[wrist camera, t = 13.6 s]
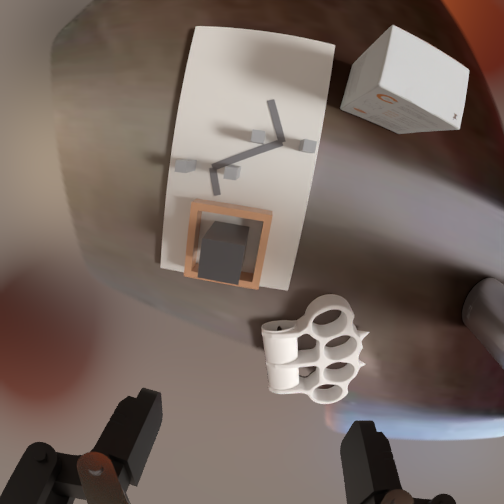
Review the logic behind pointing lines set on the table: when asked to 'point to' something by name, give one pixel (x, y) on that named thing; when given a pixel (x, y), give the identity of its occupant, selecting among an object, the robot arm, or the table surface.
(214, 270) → the dark grey block
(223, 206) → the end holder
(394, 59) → the small box
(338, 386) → the white brass knuckles
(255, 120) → the board
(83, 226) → the table surface
